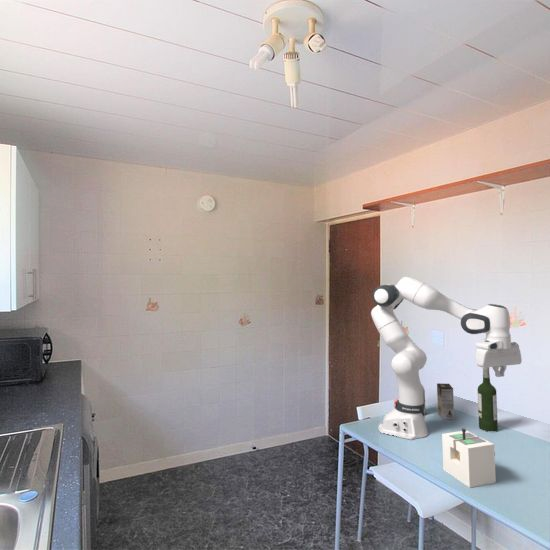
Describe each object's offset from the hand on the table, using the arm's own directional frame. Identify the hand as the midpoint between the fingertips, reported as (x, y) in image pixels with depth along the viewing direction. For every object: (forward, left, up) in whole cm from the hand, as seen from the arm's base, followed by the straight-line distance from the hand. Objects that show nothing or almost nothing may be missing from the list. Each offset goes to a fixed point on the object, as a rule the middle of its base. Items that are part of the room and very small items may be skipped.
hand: (499, 376), depth 153 cm
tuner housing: (-14, -26, -31) cm, 43 cm away
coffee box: (-21, +37, -31) cm, 53 cm away
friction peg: (-12, -25, -26) cm, 38 cm away
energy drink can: (-34, +35, -31) cm, 58 cm away
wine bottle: (-3, +25, -31) cm, 40 cm away
